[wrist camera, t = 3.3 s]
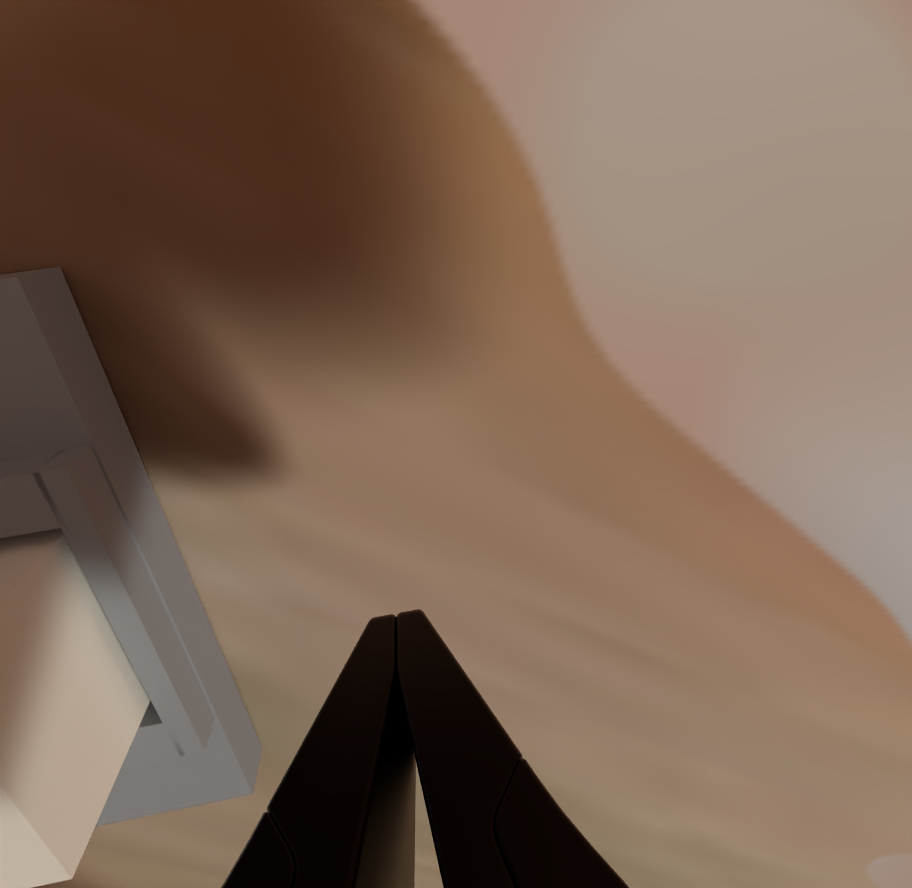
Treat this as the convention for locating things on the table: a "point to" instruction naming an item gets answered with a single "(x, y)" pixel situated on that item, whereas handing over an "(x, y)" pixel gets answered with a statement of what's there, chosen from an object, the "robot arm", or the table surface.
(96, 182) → the table surface
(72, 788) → the switch tab
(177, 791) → the switch board
